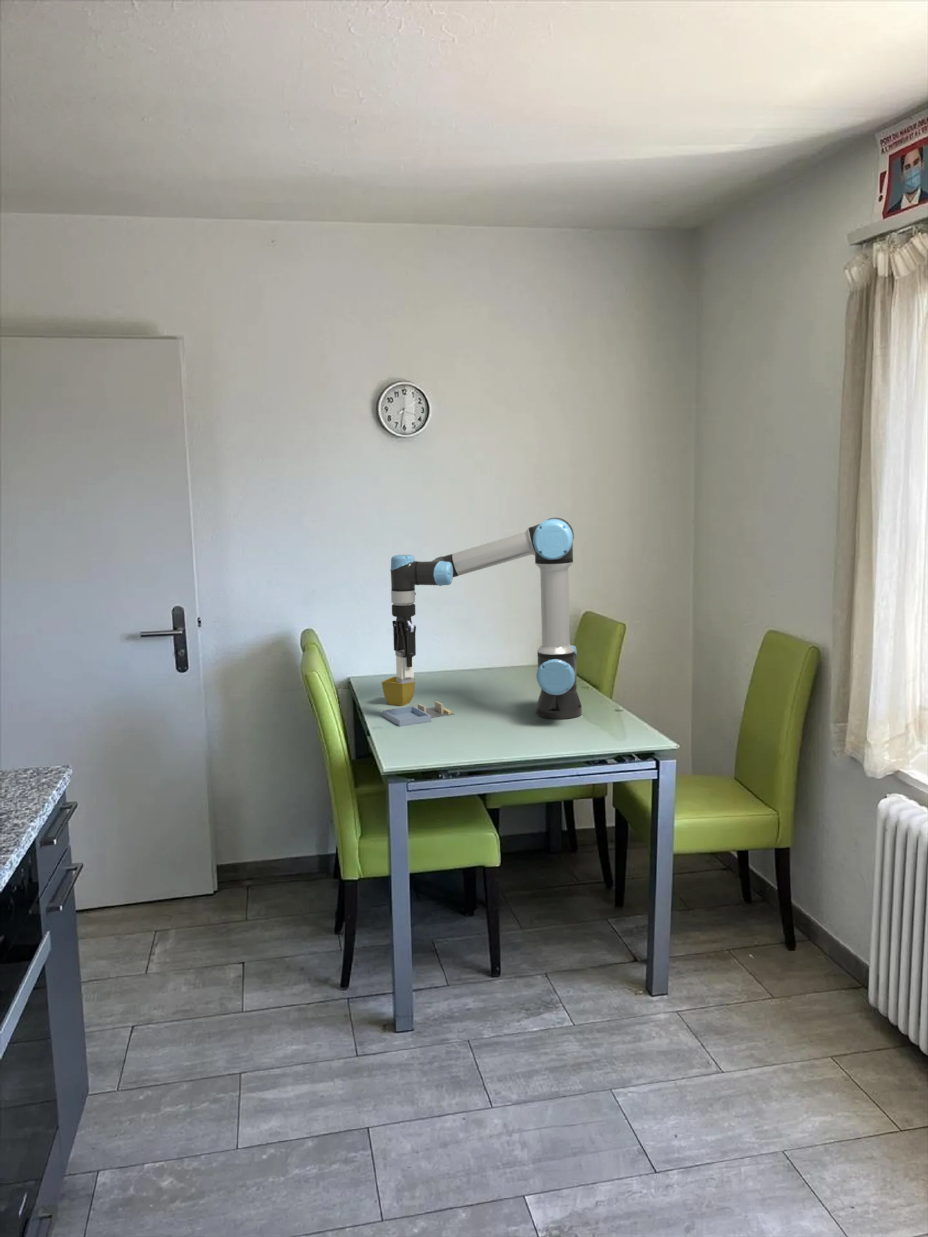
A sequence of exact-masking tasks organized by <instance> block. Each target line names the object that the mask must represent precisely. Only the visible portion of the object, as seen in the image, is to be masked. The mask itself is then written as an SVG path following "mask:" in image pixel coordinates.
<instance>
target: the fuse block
mask: <svg viewBox="0 0 928 1237" xmlns="http://www.w3.org/2000/svg"><path fill="white" fill-rule="evenodd" d="M417 708H418V709H420V710H422V711H423V712H425V713H427V714H429V715H431V719H435V718H441V717H448V716H449V717H450V716H453V715H455V713H453V712H452V710H450V709H448V708H446V707H444V703H442V702H440V701H437V700H435V701H434V707H427V706H426V705H423V704H422V703H417Z"/></svg>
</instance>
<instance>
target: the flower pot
mask: <svg viewBox="0 0 928 1237" xmlns="http://www.w3.org/2000/svg"><path fill="white" fill-rule="evenodd" d="M414 680H415V682H412V683H404V684H401V683H399V682H397V681H396V676H392V677H389V678H387V679H385V680H382V681H381V686H382V689H383V696H384V698H385V700H386V702H387V703H388V705H390V706H398V707H403V706H404V707H405V706H406V705H408V704H410V702H411V701H412V700H413V698H414V694H415V688H416V687H415V686H416V678H415V677H414Z"/></svg>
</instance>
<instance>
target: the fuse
mask: <svg viewBox="0 0 928 1237" xmlns="http://www.w3.org/2000/svg"><path fill="white" fill-rule="evenodd" d="M394 652H395V654H394V655H395V663H396V665H395V666H396V676H395V677H396V681H397V682H399V683H401V684H404V683H412V682H415V683H416V679H415V680H414V678H415V675H414V674H415V672H414V669H415V668H414V667H415V666H414V656H413V657H412V663H413V676H412V677H404V658H403V656H405V652H404V650H398V651H394Z"/></svg>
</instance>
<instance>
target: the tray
mask: <svg viewBox="0 0 928 1237" xmlns="http://www.w3.org/2000/svg"><path fill="white" fill-rule="evenodd" d="M382 717H383V718H384V719H386V720H388V721H390V722H391V723H393V724H394V725H396V726H398V727H407V726H413V725H419V724H425V723H431V722H432V718H431V715H429V714H427V713H425V712H423V711H422V710H420V709H418V707H415V706H414V705H412V706H411V705H410V706H404V707H398V708H392V709H391V708H390V709H385V710H382Z"/></svg>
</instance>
